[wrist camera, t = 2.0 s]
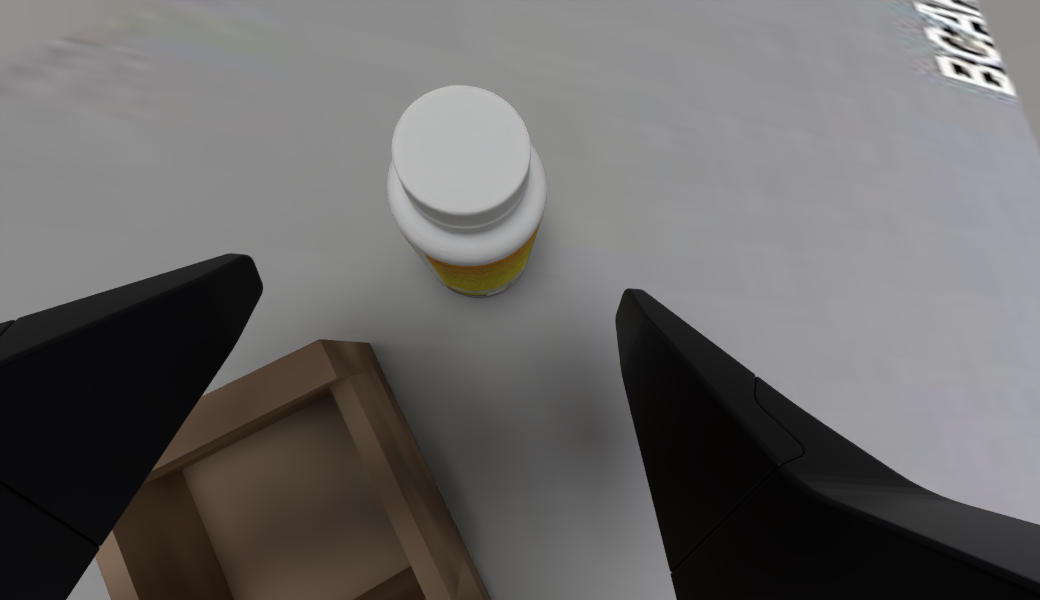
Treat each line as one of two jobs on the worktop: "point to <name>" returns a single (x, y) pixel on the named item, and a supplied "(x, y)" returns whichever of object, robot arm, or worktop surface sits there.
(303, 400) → the open wooden box
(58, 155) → the worktop surface
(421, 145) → the supplement bottle
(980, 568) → the robot arm
